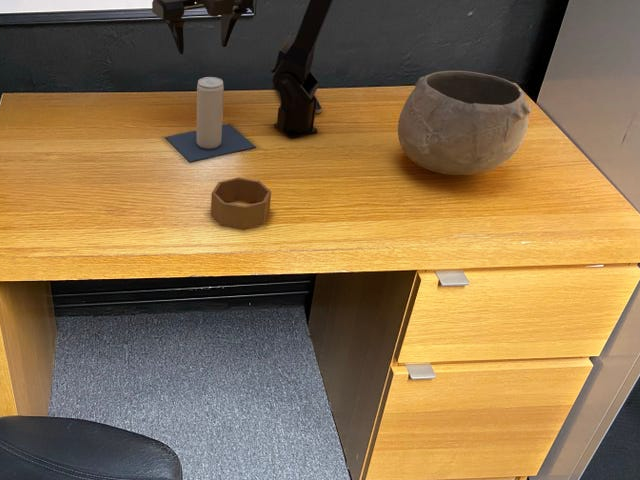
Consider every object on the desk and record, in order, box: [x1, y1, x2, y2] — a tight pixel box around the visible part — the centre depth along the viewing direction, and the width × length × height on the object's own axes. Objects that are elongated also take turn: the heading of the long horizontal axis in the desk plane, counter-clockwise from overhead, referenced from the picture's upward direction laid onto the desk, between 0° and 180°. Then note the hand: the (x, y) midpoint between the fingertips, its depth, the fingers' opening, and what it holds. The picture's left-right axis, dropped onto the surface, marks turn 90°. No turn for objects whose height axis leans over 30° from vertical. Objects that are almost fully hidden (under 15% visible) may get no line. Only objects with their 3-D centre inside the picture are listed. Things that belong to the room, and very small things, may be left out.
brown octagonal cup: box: [210, 177, 272, 230], centre depth 113 cm, size 9×9×4 cm
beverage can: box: [196, 76, 225, 149], centre depth 128 cm, size 5×5×12 cm
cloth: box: [165, 123, 257, 163], centre depth 133 cm, size 14×11×1 cm
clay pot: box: [397, 70, 533, 176], centre depth 121 cm, size 21×21×15 cm
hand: (202, 50), depth 134 cm, fingers open, 9 cm apart
